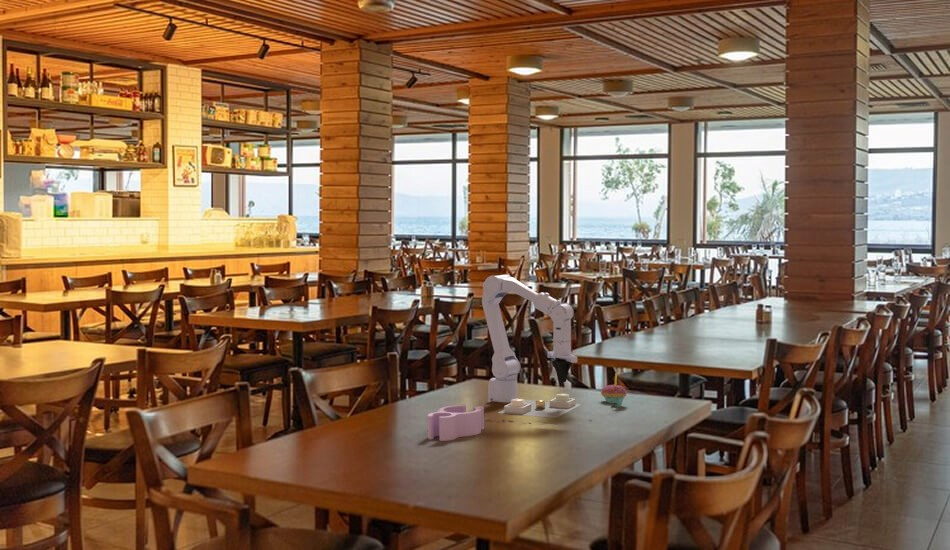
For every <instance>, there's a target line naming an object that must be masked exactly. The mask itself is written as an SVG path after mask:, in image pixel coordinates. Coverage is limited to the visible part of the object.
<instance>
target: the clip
mask: <svg viewBox="0 0 950 550" xmlns="http://www.w3.org/2000/svg"><path fill="white" fill-rule="evenodd" d="M484 410H485V408H484V406H474V407H473V411H467V404H460V405H447V406H443V407H440V408H438V411H436V412H430V413H428V414H427V438H428V440H434V438H435V437H438V438H439V441H441V442H444V441H445V442H446V441H454V440H456V439H457V438H460V437H471V436H476V435H478V434H481V433H482V430H484V429H485V418H484V417H485V411H484Z"/></svg>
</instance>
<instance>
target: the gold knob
mask: <svg viewBox="0 0 950 550" xmlns="http://www.w3.org/2000/svg"><path fill="white" fill-rule="evenodd" d="M535 401H536V409H545V401H546V400H543V399H537V400H535Z"/></svg>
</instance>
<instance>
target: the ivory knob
mask: <svg viewBox="0 0 950 550" xmlns="http://www.w3.org/2000/svg"><path fill="white" fill-rule="evenodd" d="M525 400H526V399H524V398H517V399H512V400H511V402H510V403H511V406H514V407H524V406H525Z"/></svg>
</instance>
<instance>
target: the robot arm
mask: <svg viewBox="0 0 950 550" xmlns="http://www.w3.org/2000/svg"><path fill="white" fill-rule="evenodd" d="M482 289H483V292H482V297H481V304H482V309H483V312H484V317H485V321H486V324H487V328H488V332H489V336H490V340H491V344H492V348H493V355H492V357H491V361H492V366H491V372H492V374H493V376H494V377H491V378H490V379H489V381H488V385H487V388H488V389H487V393H488V395H487V396H488V397H487V400H488V401H487V403H488V404H489V403H491V402H498V403H511V400H512V399H518V374H520V371H521V367H522V366H521V363H520V361H519V359H518V358H517V357H516V352H514V351H513V350H512V349H511V347H510V343H509V340H508V336H507V332H506V328H505V323H504V321H503V316H502V311H501V308H500V303H501V301H502V299H503V298H504V296H506V295H507V294H509V293H514V294H516V295H518V296H520V297H521V298H523V299H526V300H528V301H529V302H532V304H533V307H534V308H535V309H537V310H538V311H540V312H542V313H544V314H545V315H548V317H550V320H551V321H552V323H553V324H552V325H553V344H552V345H553V347H552V348H553V351H547V358H550V359H554V360H551V364H552V366H553V367H554V369H555V372H556V373H555V374H556V376H557V380H558V382H559V383H566V381H567V379H568V375H569V372H570V370H571V369H570V368H571V367H572V365H573V364H574V363H575V364H576V363H578V356H577V355H574V354H572V326H571V325H572V318H573V317H574V308H573V307H572V306H571V305H570V304H569V303H567V302H564V303H562V300H560V299H555V298H553V297H552V296H550V293H548V292H539V293H538V292H536V291H535V290H533V289H531V288H530V287H529V286H526V285H525V284H523V283H522V282H520V281H519V280H517V278H515V277H512V276H510V275H509V274H507V273H505V274H501V275H490V276H487V278H485V280H484V282H483V283H482Z"/></svg>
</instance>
